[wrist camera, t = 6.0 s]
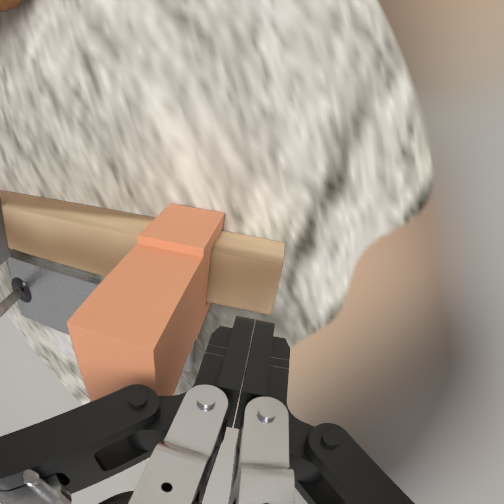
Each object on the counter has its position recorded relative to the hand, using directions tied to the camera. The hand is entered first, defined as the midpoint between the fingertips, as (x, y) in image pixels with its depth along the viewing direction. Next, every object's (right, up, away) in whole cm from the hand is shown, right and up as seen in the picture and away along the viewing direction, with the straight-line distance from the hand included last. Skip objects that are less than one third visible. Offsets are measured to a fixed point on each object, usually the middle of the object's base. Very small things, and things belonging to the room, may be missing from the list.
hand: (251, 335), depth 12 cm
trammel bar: (-11, +3, +7) cm, 13 cm away
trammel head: (-4, +1, +7) cm, 8 cm away
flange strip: (-12, -1, +9) cm, 15 cm away
